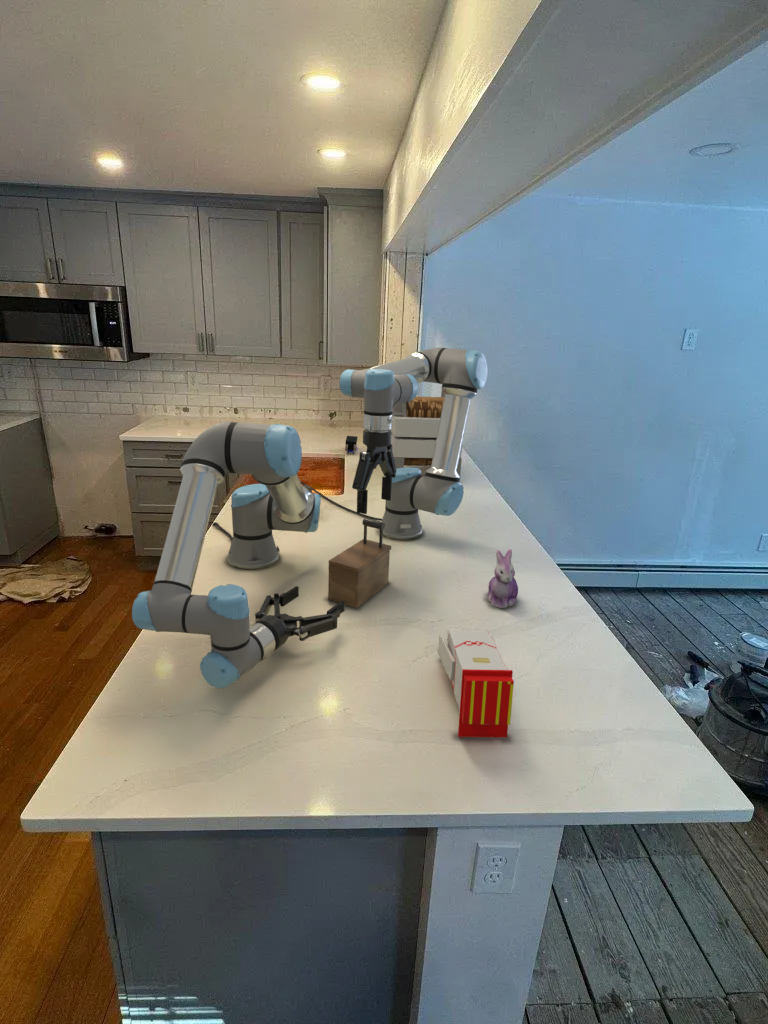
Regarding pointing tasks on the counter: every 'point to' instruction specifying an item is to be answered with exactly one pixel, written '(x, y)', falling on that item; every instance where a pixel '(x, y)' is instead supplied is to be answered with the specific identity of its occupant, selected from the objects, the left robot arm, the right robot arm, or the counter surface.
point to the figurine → (503, 582)
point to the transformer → (416, 431)
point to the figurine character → (351, 444)
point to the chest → (358, 582)
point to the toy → (478, 682)
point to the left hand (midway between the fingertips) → (319, 597)
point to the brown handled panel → (362, 550)
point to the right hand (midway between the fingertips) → (374, 506)
